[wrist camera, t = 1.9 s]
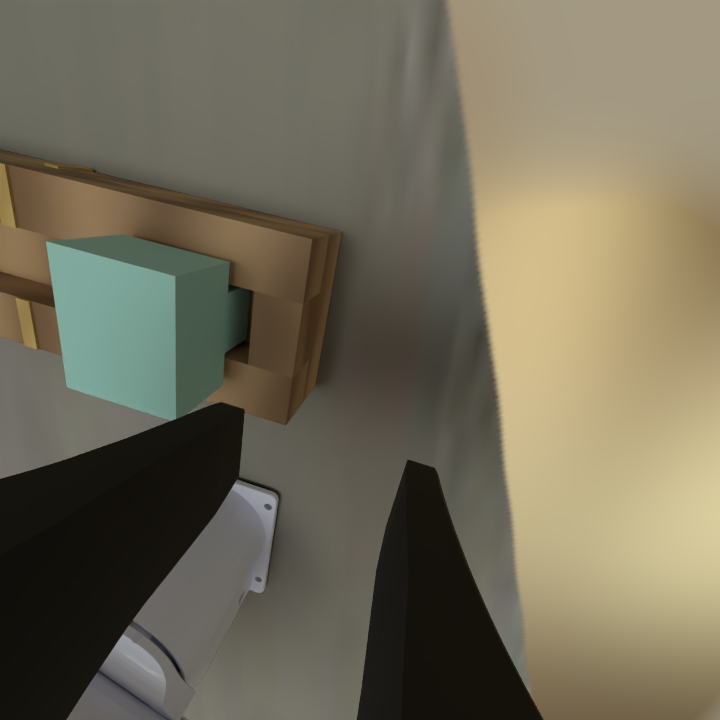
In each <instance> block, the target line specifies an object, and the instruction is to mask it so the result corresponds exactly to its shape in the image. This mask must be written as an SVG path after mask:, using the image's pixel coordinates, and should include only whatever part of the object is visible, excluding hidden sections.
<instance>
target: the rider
mask: <svg viewBox="0 0 720 720" xmlns="http://www.w3.org/2000/svg"><path fill="white" fill-rule="evenodd" d="M46 246H47V252H48V259H49V266H50V273H51V280H52V287H53V294H54V301H55V308H56V315H57V322H58V328H59V335H60V342H61V349H62V356H63V363H64V370H65V377H66V384H67V387H68V388H71V389H74V390H77V391H80V392H83V393H86V394H89V395H92V396H95V397H99V398H102V399H105V400H108V401H111V402H114V403H117V404H120V405H123V406H127V407H130V408H133V409H136V410H139V411H142V412H145V413H148V414H151V415H155V416H158V417H161V418H164V419H167V420H170V421H172V420H175V419H177V418H180V417H182V416H185V415H186V414H187V413H188V412H190V411H191V410H192V409H193V408H195V407H196V406H197V405H198V404H200V403H201V402H202V401H204V400H205V399H206V398H207V397H209V396H210V395H211V394H212V393H214V392H215V391H216V390H217V389H219V388H220V387H221V386H222V385H223V374H224V356H225V353H226V352H227V351H229V350H230V349H232V348H233V347H235V346H236V345H238V344H239V343H241V342H242V341H244V340H245V339H246V337H247V324H248V312H249V300H250V290H248V289H244V288H241V287H237V286H233V285H230V284H228V283H229V265H230V262H228V261H224V260H220V259H216V258H212V257H209V256H205V255H201V254H197V253H193V252H189V251H185V250H182V249H178V248H174V247H170V246H166V245H162V244H159V243H155V242H151V241H147V240H143V239H139V238H136V237H132V236H128V235H124V234H120V235H109V236H98V237H87V238H76V239H65V240H54V241H46Z"/></svg>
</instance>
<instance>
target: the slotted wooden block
mask: <svg viewBox="0 0 720 720" xmlns="http://www.w3.org/2000/svg"><path fill="white" fill-rule="evenodd" d="M120 234H124V235H128V236H132V237H136V238H139V239H143V240H147V241H151V242H155V243H159V244H162V245H166V246H170V247H174V248H178V249H182V250H185V251H189V252H193V253H197V254H201V255H205V256H209V257H212V258H216V259H220V260H224V261H228V262H230V265H229V283H228V284H230V285H233V286H237V287H241V288H244V289H248V290H250V300H249V312H248V324H247V337H246V339H245V340H244V341H242V342H241V343H239V344H238V345H236V346H235V347H233V348H232V349H230V350H229V351H227V352H226V353H225V356H224V374H223V385H222V386H221V387H220V388H219V389H217V390H216V391H215V392H214V393H212V394H211V395H210V396H209V397H207V398H206V399H205V400H206V401H209V402H212V403H219V402H223V403H226V404H230V405H233V406H236V407H239V408H243V409H245V413H248V414H251V415H254V416H258V417H261V418H264V419H267V420H270V421H274V422H277V423H280V424H283V425H286V424H287V423H288V422H289V420H290V419H291V418H292V416H293V415H294V414H295V412H296V411H297V409H298V408H299V407H300V405H301V404H302V403H303V401H304V400H305V399H306V397H307V396H308V395H309V393H310V392H311V391H312V389H313V388H314V387H315V384H316V378H317V373H318V367H319V361H320V355H321V350H322V344H323V338H324V332H325V327H326V321H327V315H328V309H329V304H330V298H331V292H332V286H333V281H334V275H335V269H336V263H337V258H338V252H339V246H340V240H341V235H342V232H341V231H337V230H332V229H328V228H324V227H320V226H316V225H312V224H308V223H303V222H299V221H295V220H291V219H287V218H283V217H278V216H274V215H270V214H266V213H262V212H258V211H254V210H249V209H245V208H241V207H237V206H233V205H229V204H224V203H220V202H216V201H212V200H208V199H204V198H200V197H195V196H191V195H187V194H183V193H179V192H175V191H171V190H166V189H162V188H158V187H154V186H150V185H146V184H141V183H137V182H133V181H129V180H125V179H121V178H117V177H112V176H108V175H104V174H100V173H96V172H93V169H89V168H85V167H81V166H71V165H63V164H58V163H54V162H50V161H46V160H42V159H38V158H34V157H29V156H25V155H21V154H17V153H13V152H9V151H4V150H0V337H3V338H6V339H10V340H13V341H16V342H19V343H23V344H24V346H27V347H30V348H33V349H42V350H45V351H48V352H52V353H55V354H58V355H61V356H62V349H61V342H60V335H59V328H58V322H57V315H56V308H55V301H54V294H53V287H52V280H51V273H50V266H49V259H48V252H47V246H46V241H54V240H65V239H76V238H87V237H98V236H109V235H120Z"/></svg>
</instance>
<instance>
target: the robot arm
mask: <svg viewBox="0 0 720 720" xmlns="http://www.w3.org/2000/svg"><path fill="white" fill-rule="evenodd" d="M244 412H245V409H243V408H239V407H236V406H233V405H230V404H226V403H223V402H219V403H216V404H213V405H210V406H208V407H205V408H202V409H200V410H197V411H195V412H192V413H190V414H187V415H185V416H182V417H180V418H177V419H175V420H172V421H170V422H167V423H165V424H162V425H159V426H157V427H154V428H152V429H149V430H147V431H144V432H141V433H139V434H136V435H134V436H131V437H129V438H126V439H123V440H120V441H117V442H115V443H112V444H109V445H106V446H103V447H100V448H97V449H95V450H92V451H89V452H86V453H83V454H80V455H77V456H75V457H72V458H69V459H66V460H63V461H60V462H57V463H53V464H50V465H47V466H44V467H40V468H37V469H34V470H30V471H27V472H23V473H20V474H16V475H13V476H9V477H6V478H2V479H0V720H188V719H187V718H186V717H184V716H183V714H184V712H185V711H186V709H187V707H188V705H189V703H190V701H191V699H192V697H193V695H194V693H195V690H194V688H195V687H196V686H197V685H198V683H199V682H200V681H201V679H202V678H203V676H204V675H205V673H206V671H207V670H208V668H209V666H210V664H211V662H212V660H213V658H214V656H215V654H216V652H217V650H218V649H219V647H220V645H221V643H222V641H223V639H224V637H225V635H226V633H227V631H228V629H229V627H230V626H231V624H232V622H233V620H234V618H235V616H236V614H237V612H238V610H239V608H240V606H241V605H242V603H243V601H244V599H245V597H246V595H247V593H248V591H249V590H251V591H254V592H256V593H262V592H263V591H264V589H265V587H266V581H267V575H268V568H269V561H270V554H271V548H272V541H273V534H274V528H275V521H276V514H277V507H278V501H279V498H278V496H277V494H276V493H275V492H273V491H270V490H267V489H264V488H261V487H258V486H255V485H252V484H249V483H246V482H243V481H240V480H237V479H238V477H239V470H240V458H241V447H242V435H243V423H244ZM268 504H269V505H268ZM270 505H271V506H270ZM357 720H543V718H542V716H541V714H540V712H539V711H538V709H537V707H536V705H535V703H534V701H533V700H532V698H531V696H530V694H529V692H528V690H527V689H526V687H525V685H524V683H523V681H522V679H521V677H520V675H519V673H518V671H517V669H516V667H515V666H514V664H513V662H512V660H511V658H510V656H509V654H508V652H507V650H506V648H505V646H504V644H503V642H502V640H501V638H500V636H499V634H498V632H497V629H496V627H495V625H494V623H493V621H492V619H491V617H490V614H489V612H488V610H487V608H486V606H485V603H484V601H483V599H482V596H481V594H480V592H479V590H478V587H477V585H476V583H475V580H474V578H473V576H472V573H471V571H470V568H469V566H468V563H467V561H466V558H465V555H464V553H463V550H462V548H461V545H460V542H459V540H458V537H457V534H456V532H455V529H454V526H453V523H452V520H451V517H450V514H449V511H448V508H447V505H446V502H445V498H444V495H443V491H442V488H441V484H440V480H439V476H438V473H437V471H436V469H435V468H433V467H430V466H427V465H423V464H420V463H417V462H414V461H411V460H407V463H406V466H405V469H404V472H403V475H402V479H401V482H400V485H399V488H398V491H397V494H396V497H395V500H394V503H393V506H392V510H391V513H390V516H389V519H388V522H387V525H386V529H385V534H384V538H383V543H382V547H381V551H380V556H379V560H378V565H377V569H376V577H375V585H374V593H373V601H372V609H371V617H370V625H369V633H368V641H367V649H366V657H365V665H364V673H363V682H362V690H361V696H360V702H359V709H358V715H357Z"/></svg>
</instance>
